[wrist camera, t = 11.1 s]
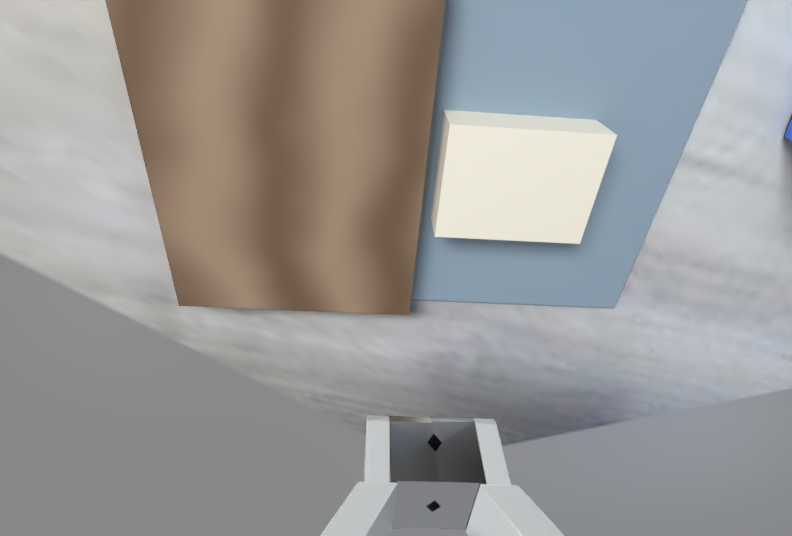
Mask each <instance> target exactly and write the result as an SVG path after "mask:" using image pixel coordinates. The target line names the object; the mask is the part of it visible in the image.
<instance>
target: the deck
mask: <svg viewBox="0 0 792 536" xmlns="http://www.w3.org/2000/svg"><path fill="white" fill-rule="evenodd" d="M106 4H107V8H108V13H109V17H110V21H111V25H112V29H113V33H114V37H115V42H116V46H117V50H118V54H119V58H120V62H121V66H122V71H123V75H124V79H125V83H126V87H127V91H128V96H129V100H130V104H131V108H132V112H133V116H134V120H135V125H136V129H137V133H138V137H139V141H140V145H141V149H142V154H143V158H144V162H145V166H146V170H147V174H148V179H149V183H150V187H151V191H152V195H153V199H154V203H155V208H156V212H157V216H158V220H159V224H160V228H161V232H162V237H163V241H164V245H165V249H166V253H167V257H168V261H169V266H170V270H171V274H172V278H173V282H174V286H175V291H176V295H177V299H178V303H179V306H200V307H225V308H250V309H275V310H300V311H326V312H351V313H376V314H401V315H409V310H410V302H411V293H412V285H413V276H414V267H415V259H416V250H417V241H418V233H419V224H420V216H421V207H422V198H423V190H424V181H425V173H426V164H427V155H428V147H429V138H430V130H431V121H432V112H433V104H434V95H435V86H436V78H437V69H438V61H439V52H440V43H441V35H442V26H443V18H444V9H445V0H106Z"/></svg>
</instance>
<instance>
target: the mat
mask: <svg viewBox="0 0 792 536" xmlns="http://www.w3.org/2000/svg"><path fill="white" fill-rule="evenodd" d="M747 1H748V0H445V9H444V18H443V26H442V35H441V43H440V52H439V61H438V69H437V78H436V86H435V95H434V104H433V112H432V121H431V130H430V138H429V147H428V155H427V164H426V173H425V181H424V190H423V198H422V207H421V216H420V224H419V233H418V241H417V250H416V259H415V267H414V276H413V285H412V293H411V299H416V300H440V301H463V302H487V303H511V304H535V305H558V306H582V307H606V308H614V307H615V305H616V303H617V301H618V298H619V296H620V294H621V291H622V289H623V287H624V284H625V282H626V280H627V277H628V275H629V273H630V271H631V268H632V266H633V264H634V261H635V259H636V257H637V254H638V252H639V250H640V248H641V245H642V243H643V241H644V238H645V236H646V234H647V231H648V229H649V227H650V224H651V222H652V220H653V218H654V215H655V213H656V211H657V208H658V206H659V204H660V201H661V199H662V197H663V194H664V192H665V190H666V188H667V185H668V183H669V181H670V178H671V176H672V174H673V171H674V169H675V167H676V164H677V162H678V160H679V158H680V155H681V153H682V151H683V148H684V146H685V144H686V141H687V139H688V137H689V135H690V132H691V130H692V128H693V125H694V123H695V121H696V118H697V116H698V114H699V111H700V109H701V107H702V105H703V102H704V100H705V98H706V95H707V93H708V91H709V88H710V86H711V84H712V81H713V79H714V77H715V75H716V72H717V70H718V68H719V65H720V63H721V61H722V58H723V56H724V54H725V51H726V49H727V47H728V45H729V42H730V40H731V38H732V35H733V33H734V31H735V28H736V26H737V24H738V22H739V19H740V17H741V15H742V12H743V10H744V8H745V5H746V3H747ZM444 110H454V111H470V112H485V113H500V114H515V115H530V116H545V117H560V118H575V119H590V120H597V121H599V122H600V123H601V124H603V125H604V126H605V127H607V128H608V129H610V130H611V131H612V132H614V133H615V134H616V135H617V137H616V140H615V143H614V146H613V149H612V152H611V155H610V157H609V160H608V163H607V166H606V169H605V172H604V175H603V178H602V181H601V184H600V187H599V190H598V192H597V195H596V198H595V201H594V204H593V207H592V210H591V213H590V216H589V219H588V222H587V225H586V227H585V230H584V233H583V236H582V239H581V242H580V244H572V243H551V242H531V241H510V240H490V239H469V238H448V237H435V236H434V231H433V226H432V221H431V216H430V215H431V207H432V199H433V191H434V183H435V175H436V167H437V159H438V152H439V144H440V136H441V128H442V120H443V112H444Z"/></svg>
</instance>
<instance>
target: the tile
mask: <svg viewBox="0 0 792 536" xmlns="http://www.w3.org/2000/svg"><path fill="white" fill-rule="evenodd" d="M616 137H617V135H616V134H615V133H614V132H612V131H611V130H610V129H608V128H607V127H605V126H604V125H603V124H601V123H600V122H599V121H597V120H590V119H575V118H560V117H545V116H530V115H515V114H500V113H485V112H470V111H454V110H444V112H443V120H442V128H441V136H440V144H439V152H438V159H437V167H436V175H435V183H434V191H433V199H432V207H431V215H430V216H431V221H432V226H433V231H434V236H435V237H448V238H469V239H490V240H510V241H531V242H551V243H572V244H580V242H581V239H582V236H583V233H584V230H585V227H586V225H587V222H588V219H589V216H590V213H591V210H592V207H593V204H594V201H595V198H596V195H597V192H598V190H599V187H600V184H601V181H602V178H603V175H604V172H605V169H606V166H607V163H608V160H609V157H610V155H611V152H612V149H613V146H614V143H615V140H616Z"/></svg>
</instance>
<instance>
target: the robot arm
mask: <svg viewBox="0 0 792 536" xmlns="http://www.w3.org/2000/svg"><path fill="white" fill-rule="evenodd" d="M365 443H366V444H365V459H364V460H365V461H364V481H363V482H358V483H357V484H356V485H355V487H354V488H353V490H352V491H351V493H350V494H349V495H348V497H347V498H346V500H345V501H344V503H343V504H342V505H341V507H340V508H339V510H338V511H337V513H336V514H335V515H334V517H333V518H332V520H331V521H330V523H329V524H328V525H327V527H326V528H325V530H324V531H323V533H322V534H321V535H320V536H389V535H390V533H391V531H392V529H400V528H440V529H460V530H466V533H467V535H468V536H564V535H563V534H562V533H561V532H560V530H559V529H558V528H557V527H556V526H555V525H554V524H553V523H552V522H551V521H550V520H549V518H548V517H547V516H546V515H545V514H544V513H543V512H542V511H541V510H540V509H539V507H538V506H537V505H536V504H535V503H534V502H533V501H532V500H531V498H530V497H529V496H528V495H527V494H526V493H525V492H524V491H523V490H522V489H521V487H520V486H519V485H512V483H511V479H510V475H509V471H508V467H507V463H506V459H505V455H504V451H503V447H502V443H501V439H500V435H499V431H498V427H497V423H496V422H495V420H494V419H476V418H473V419H472V418H453V417H430V418H419V417H402V416H382V415H368V416H367V426H366V442H365Z"/></svg>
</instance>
